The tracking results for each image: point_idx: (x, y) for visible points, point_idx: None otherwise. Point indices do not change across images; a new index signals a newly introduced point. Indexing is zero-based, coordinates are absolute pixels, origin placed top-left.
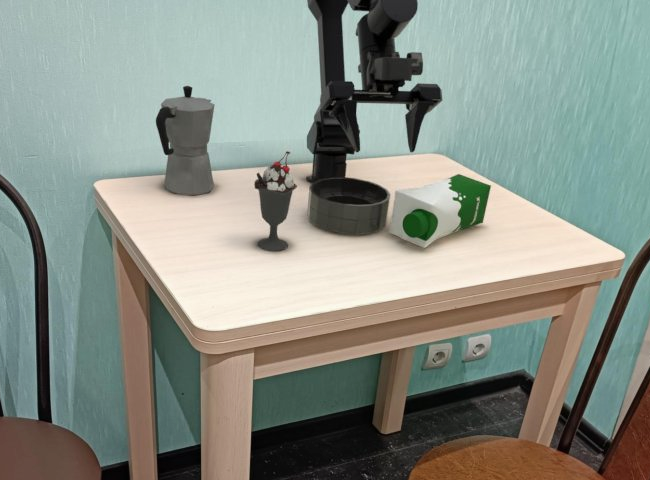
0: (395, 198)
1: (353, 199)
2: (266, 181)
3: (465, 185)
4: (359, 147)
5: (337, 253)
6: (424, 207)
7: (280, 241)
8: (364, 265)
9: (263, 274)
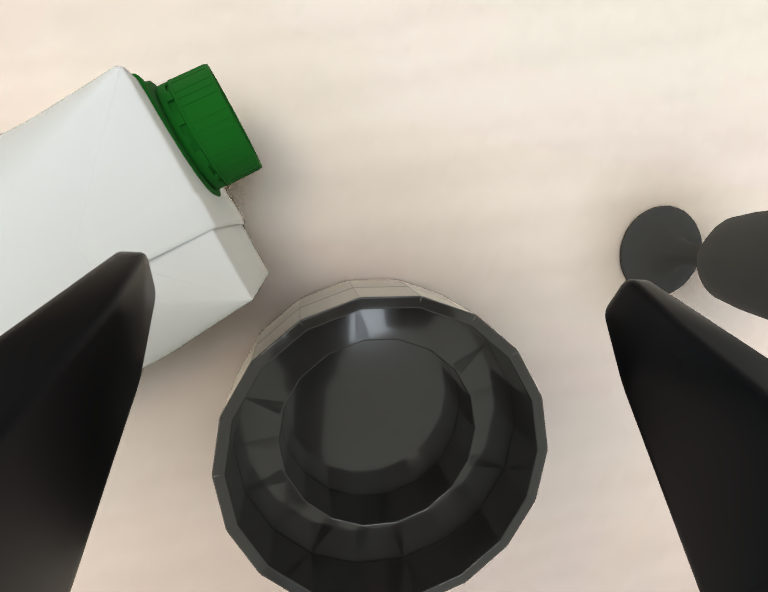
0: (253, 287)
1: (326, 508)
2: None
3: None
4: (647, 286)
5: (499, 160)
6: (156, 114)
7: (651, 244)
8: (450, 52)
9: (753, 59)
